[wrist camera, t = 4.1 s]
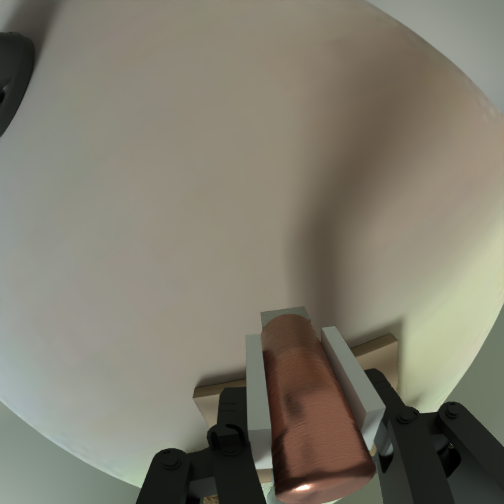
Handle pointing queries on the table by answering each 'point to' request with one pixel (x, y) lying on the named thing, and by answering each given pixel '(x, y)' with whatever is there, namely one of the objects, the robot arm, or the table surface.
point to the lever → (309, 416)
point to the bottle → (273, 497)
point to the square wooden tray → (368, 355)
